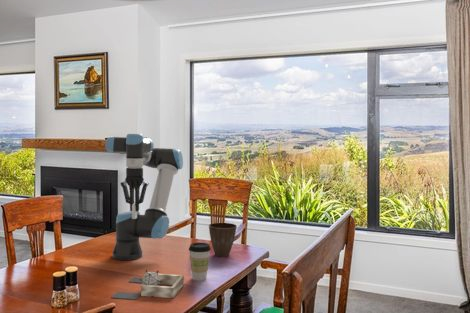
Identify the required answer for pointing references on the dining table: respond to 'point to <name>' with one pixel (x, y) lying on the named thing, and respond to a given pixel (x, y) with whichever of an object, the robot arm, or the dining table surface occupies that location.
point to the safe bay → (164, 290)
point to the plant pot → (222, 237)
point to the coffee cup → (199, 260)
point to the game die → (150, 278)
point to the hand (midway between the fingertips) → (134, 218)
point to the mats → (126, 294)
